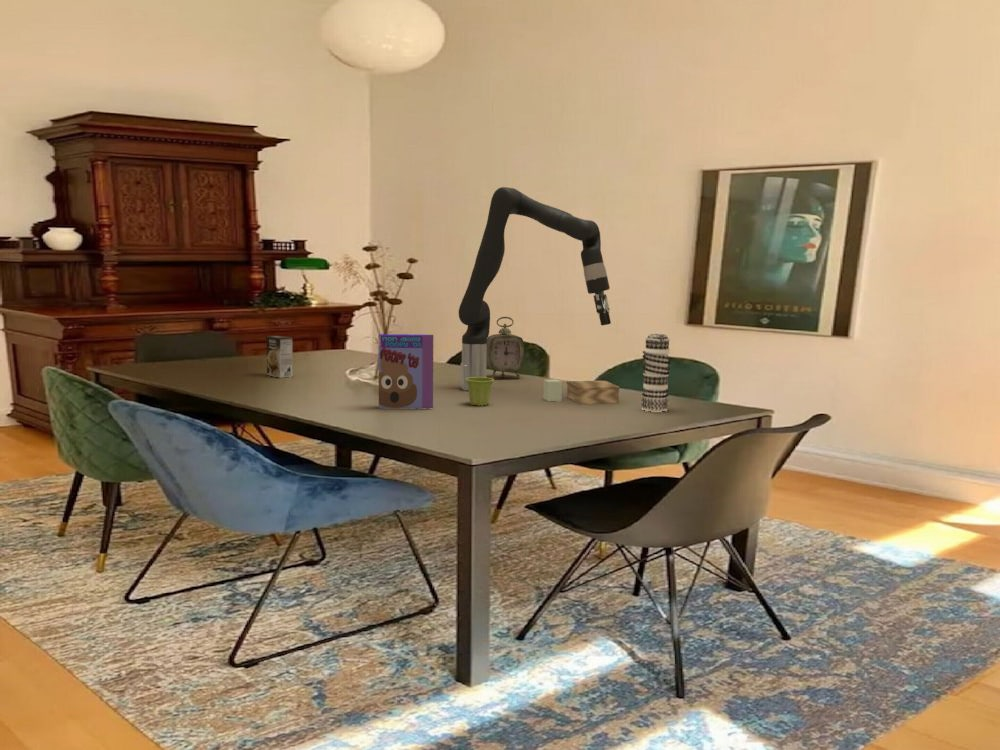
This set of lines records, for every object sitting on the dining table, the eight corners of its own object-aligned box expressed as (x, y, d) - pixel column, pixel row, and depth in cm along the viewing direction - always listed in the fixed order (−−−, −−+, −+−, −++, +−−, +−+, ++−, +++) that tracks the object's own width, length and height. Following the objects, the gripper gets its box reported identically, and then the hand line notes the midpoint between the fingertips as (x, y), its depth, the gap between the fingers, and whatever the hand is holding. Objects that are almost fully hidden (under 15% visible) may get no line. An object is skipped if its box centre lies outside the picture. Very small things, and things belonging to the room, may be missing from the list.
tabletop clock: (488, 380, 341) (489, 317, 337) (484, 377, 349) (484, 315, 346) (524, 379, 344) (525, 317, 340) (518, 376, 353) (519, 315, 349)
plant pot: (486, 401, 293) (486, 376, 292) (498, 405, 285) (498, 380, 284) (461, 403, 289) (461, 377, 288) (472, 407, 281) (472, 381, 280)
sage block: (547, 401, 295) (548, 381, 294) (543, 399, 300) (543, 379, 299) (561, 401, 296) (562, 381, 295) (557, 398, 301) (557, 379, 300)
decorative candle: (636, 407, 286) (639, 333, 282) (662, 407, 288) (665, 333, 284) (646, 412, 277) (649, 336, 274) (673, 412, 279) (676, 335, 276)
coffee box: (266, 376, 342) (265, 336, 339) (279, 374, 347) (279, 335, 344) (280, 378, 336) (279, 337, 334) (293, 377, 341) (292, 336, 338)
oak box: (579, 405, 291) (579, 387, 290) (566, 398, 305) (566, 381, 304) (619, 404, 294) (619, 386, 293) (604, 396, 308) (604, 380, 307)
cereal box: (378, 409, 276) (378, 335, 273) (379, 406, 281) (379, 333, 278) (432, 409, 277) (433, 335, 274) (433, 406, 282) (433, 334, 279)
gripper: (588, 281, 298) (598, 326, 298) (582, 279, 284) (592, 327, 285) (609, 276, 296) (619, 322, 296) (604, 274, 282) (614, 322, 283)
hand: (606, 324), depth 291 cm, fingers open, 8 cm apart
